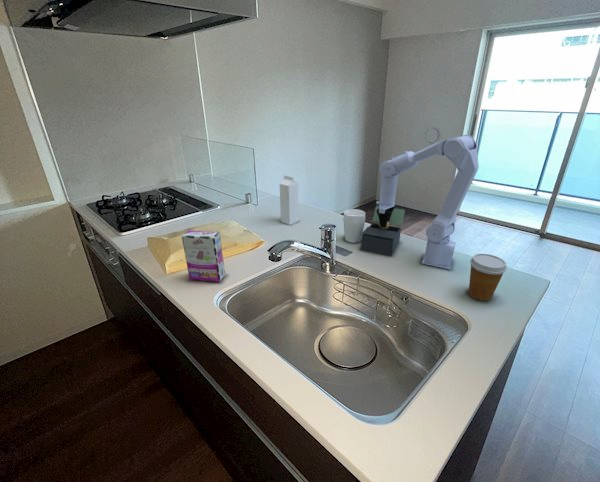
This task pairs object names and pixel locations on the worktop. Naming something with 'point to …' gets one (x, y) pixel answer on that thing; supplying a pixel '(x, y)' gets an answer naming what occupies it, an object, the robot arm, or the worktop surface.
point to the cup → (353, 225)
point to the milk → (289, 200)
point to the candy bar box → (204, 255)
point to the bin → (380, 239)
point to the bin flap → (395, 217)
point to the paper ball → (384, 227)
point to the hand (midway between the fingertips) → (384, 224)
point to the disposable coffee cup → (485, 275)
